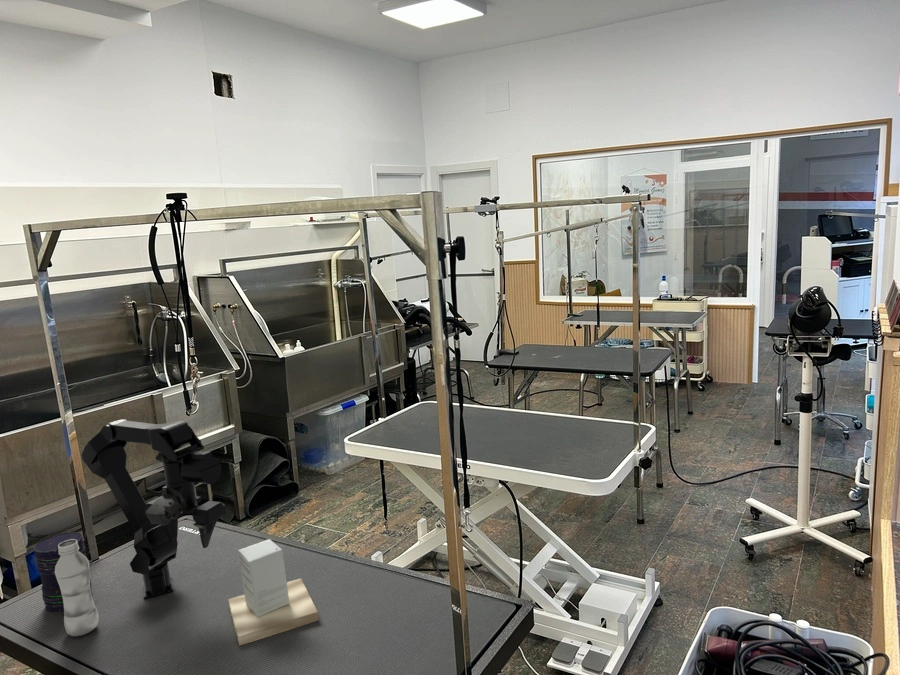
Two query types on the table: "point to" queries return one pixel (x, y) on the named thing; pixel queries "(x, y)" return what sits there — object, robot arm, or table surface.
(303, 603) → the ash board
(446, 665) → the table surface
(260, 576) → the supplement box
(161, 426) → the robot arm
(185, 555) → the table surface
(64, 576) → the plastic bottle
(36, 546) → the storage jar
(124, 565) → the table surface
